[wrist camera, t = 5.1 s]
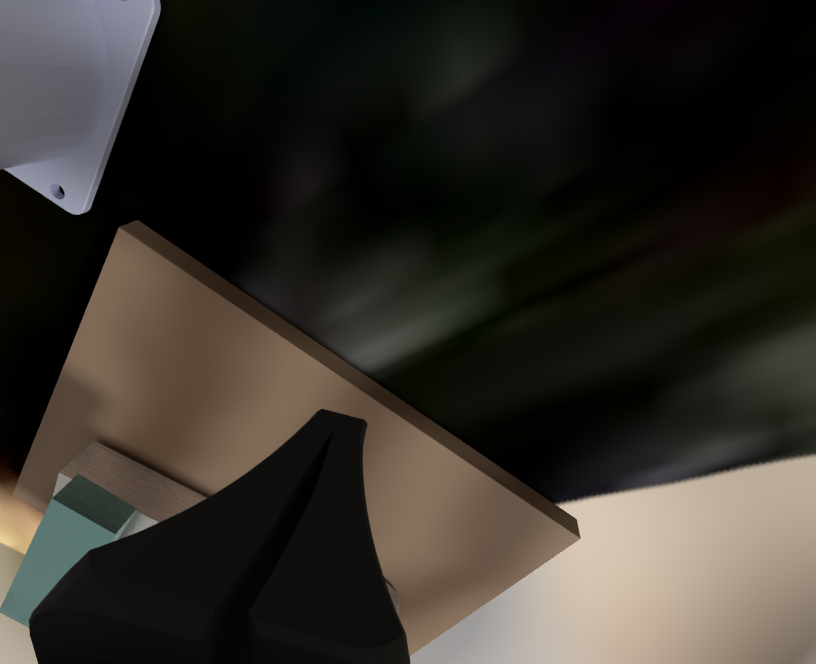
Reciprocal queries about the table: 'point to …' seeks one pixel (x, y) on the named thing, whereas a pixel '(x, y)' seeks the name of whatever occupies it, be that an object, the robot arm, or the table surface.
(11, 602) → the block
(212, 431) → the board
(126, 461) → the latch bar
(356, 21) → the table surface
